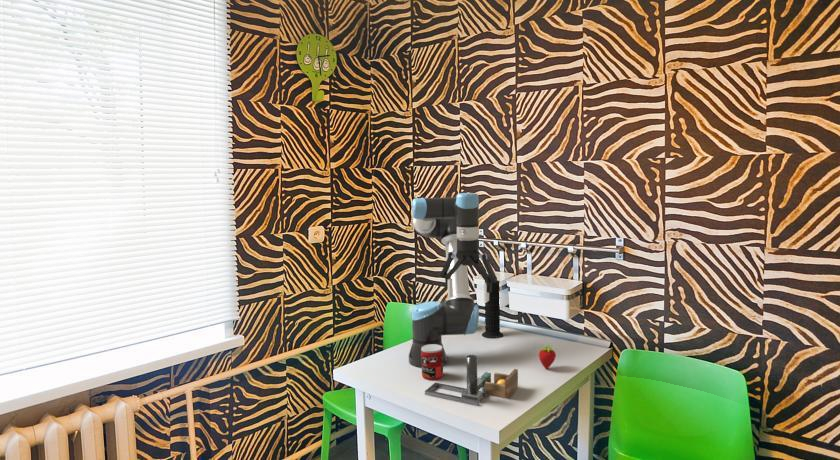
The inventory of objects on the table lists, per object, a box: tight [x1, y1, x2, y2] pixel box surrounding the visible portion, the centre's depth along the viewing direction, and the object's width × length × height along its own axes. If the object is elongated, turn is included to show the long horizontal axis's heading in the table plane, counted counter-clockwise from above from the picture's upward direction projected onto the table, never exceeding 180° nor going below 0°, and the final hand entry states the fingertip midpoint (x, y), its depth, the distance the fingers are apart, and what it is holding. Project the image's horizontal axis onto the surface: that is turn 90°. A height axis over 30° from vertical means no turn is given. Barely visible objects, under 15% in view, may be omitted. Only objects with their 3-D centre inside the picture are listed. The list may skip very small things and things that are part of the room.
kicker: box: [460, 354, 492, 402], centre depth 165 cm, size 6×14×14 cm, turn 151°
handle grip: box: [481, 279, 504, 339], centre depth 226 cm, size 10×26×10 cm
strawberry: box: [538, 343, 557, 370], centre depth 184 cm, size 6×8×10 cm
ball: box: [497, 379, 505, 385], centre depth 166 cm, size 4×4×4 cm
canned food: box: [421, 344, 444, 381], centre depth 180 cm, size 8×8×11 cm
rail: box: [424, 382, 488, 407], centre depth 164 cm, size 19×8×1 cm, turn 61°
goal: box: [484, 368, 519, 400], centre depth 166 cm, size 8×10×6 cm
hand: (468, 299), depth 169 cm, fingers open, 13 cm apart
